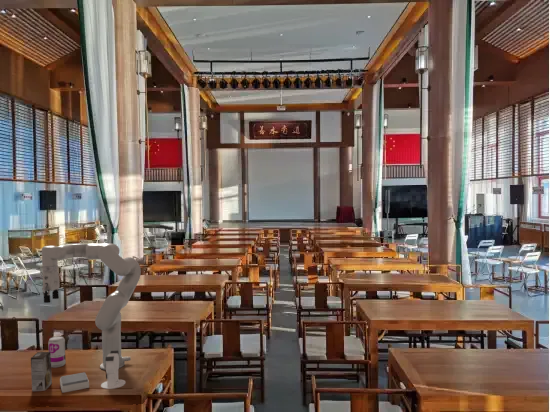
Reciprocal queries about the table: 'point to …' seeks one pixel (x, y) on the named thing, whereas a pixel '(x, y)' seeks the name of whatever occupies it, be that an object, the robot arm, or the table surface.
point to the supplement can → (57, 351)
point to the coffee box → (41, 371)
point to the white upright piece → (112, 371)
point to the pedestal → (74, 382)
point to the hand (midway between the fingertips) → (51, 300)
